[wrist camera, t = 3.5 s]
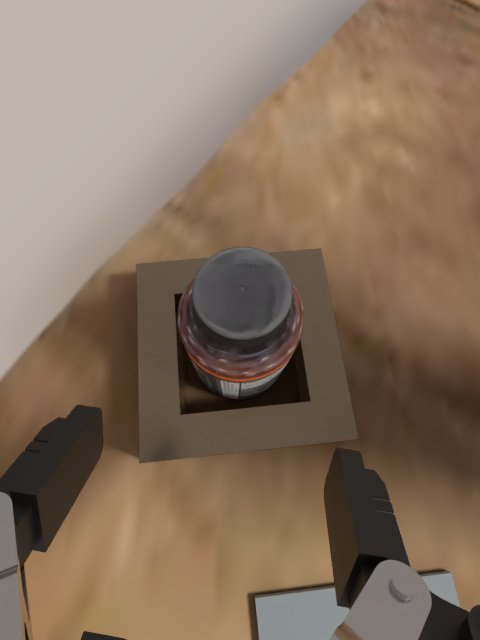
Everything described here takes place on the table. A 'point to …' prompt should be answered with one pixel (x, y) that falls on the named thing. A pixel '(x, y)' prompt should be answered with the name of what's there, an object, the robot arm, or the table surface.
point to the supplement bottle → (240, 322)
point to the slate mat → (322, 610)
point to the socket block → (247, 423)
